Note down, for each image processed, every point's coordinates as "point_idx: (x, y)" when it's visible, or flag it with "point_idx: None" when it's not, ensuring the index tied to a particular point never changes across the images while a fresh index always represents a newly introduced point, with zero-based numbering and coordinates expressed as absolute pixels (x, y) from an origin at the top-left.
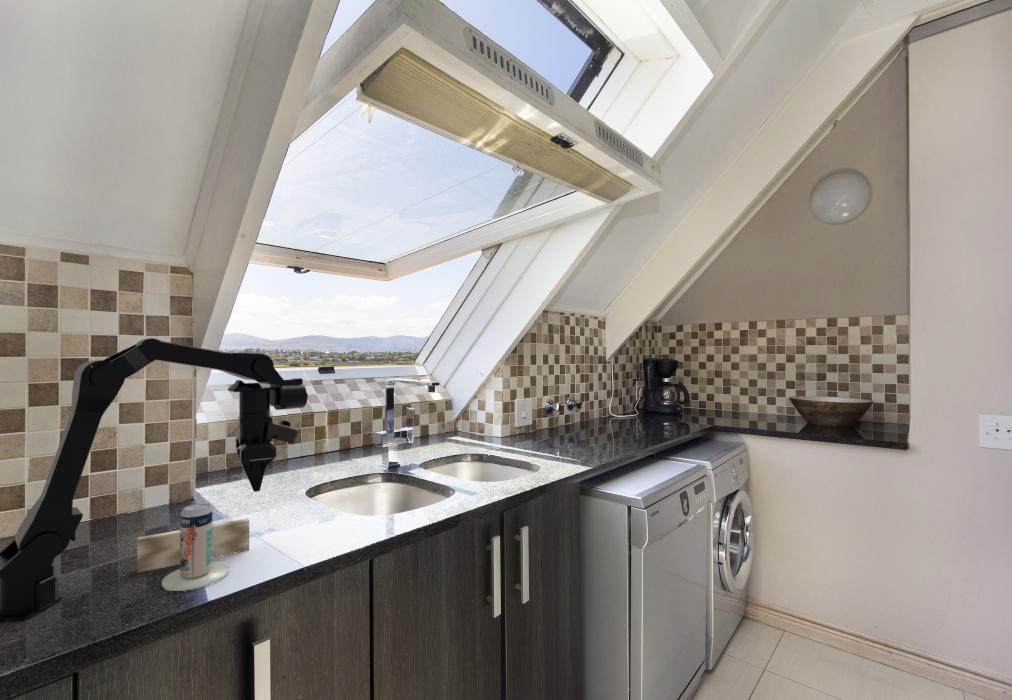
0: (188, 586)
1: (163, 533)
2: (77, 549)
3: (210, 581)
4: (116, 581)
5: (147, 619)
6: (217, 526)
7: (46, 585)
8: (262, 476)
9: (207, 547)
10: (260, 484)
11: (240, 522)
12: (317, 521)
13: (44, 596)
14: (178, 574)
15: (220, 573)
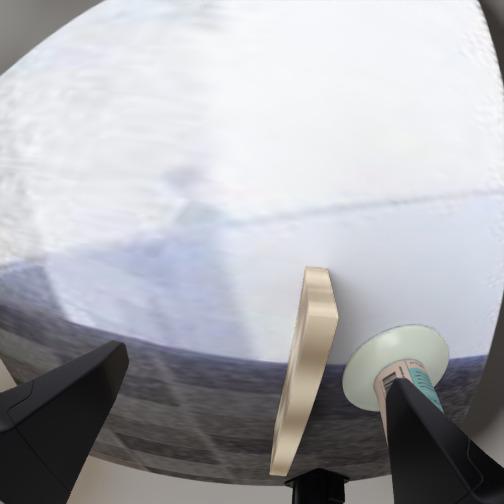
0: (435, 382)
1: (279, 456)
2: (127, 441)
3: (448, 357)
4: (303, 441)
5: (463, 406)
6: (317, 390)
7: (340, 496)
8: (461, 437)
9: (439, 402)
10: (428, 403)
11: (331, 341)
12: (196, 33)
13: (341, 486)
14: (371, 395)
15: (433, 343)
